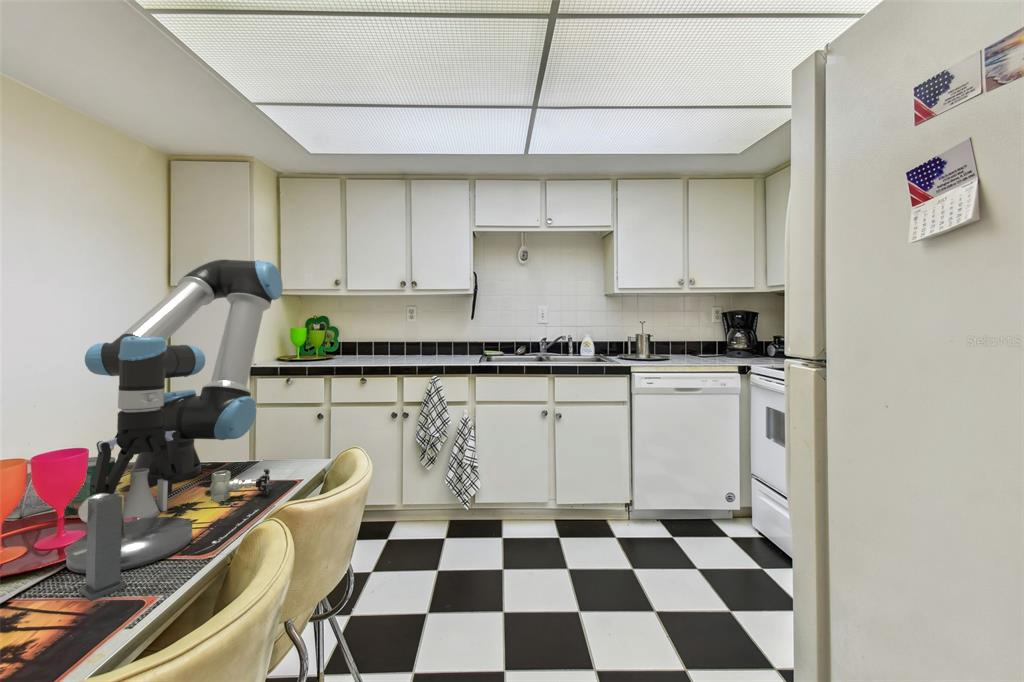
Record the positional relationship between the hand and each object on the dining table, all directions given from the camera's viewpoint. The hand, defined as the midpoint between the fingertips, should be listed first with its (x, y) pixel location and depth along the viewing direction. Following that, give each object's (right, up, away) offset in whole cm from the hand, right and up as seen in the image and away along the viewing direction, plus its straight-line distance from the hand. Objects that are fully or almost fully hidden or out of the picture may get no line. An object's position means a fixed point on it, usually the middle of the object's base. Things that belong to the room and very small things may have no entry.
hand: (138, 516), depth 92 cm
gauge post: (+17, -1, -26) cm, 31 cm away
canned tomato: (-12, 0, +2) cm, 13 cm away
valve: (+14, -1, +12) cm, 18 cm away
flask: (0, 0, 0) cm, 0 cm away
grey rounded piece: (+11, -1, -14) cm, 17 cm away
